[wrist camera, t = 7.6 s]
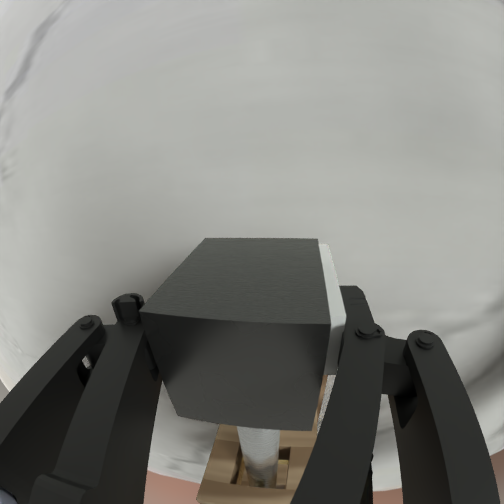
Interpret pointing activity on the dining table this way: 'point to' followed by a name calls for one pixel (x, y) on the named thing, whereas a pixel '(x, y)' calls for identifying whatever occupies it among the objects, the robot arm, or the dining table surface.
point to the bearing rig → (228, 465)
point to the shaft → (244, 340)
